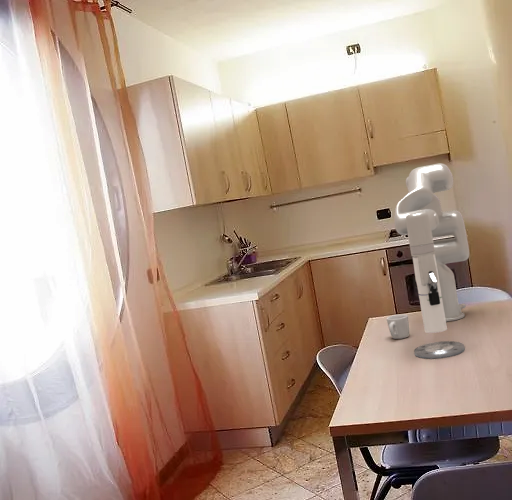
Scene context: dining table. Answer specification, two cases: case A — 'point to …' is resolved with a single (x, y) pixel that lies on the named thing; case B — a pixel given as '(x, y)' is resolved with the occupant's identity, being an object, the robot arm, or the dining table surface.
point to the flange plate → (439, 350)
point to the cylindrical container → (430, 314)
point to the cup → (398, 326)
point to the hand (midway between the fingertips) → (431, 302)
